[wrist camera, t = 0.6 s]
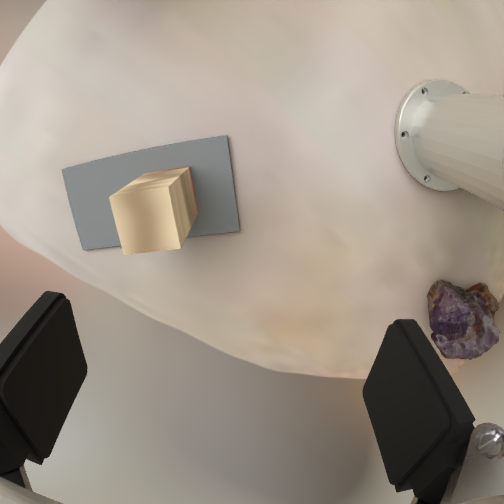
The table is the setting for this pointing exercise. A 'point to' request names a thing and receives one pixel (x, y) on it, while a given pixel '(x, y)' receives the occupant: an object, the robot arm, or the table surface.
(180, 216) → the maple block
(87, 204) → the mat
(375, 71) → the table surface
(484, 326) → the rock
